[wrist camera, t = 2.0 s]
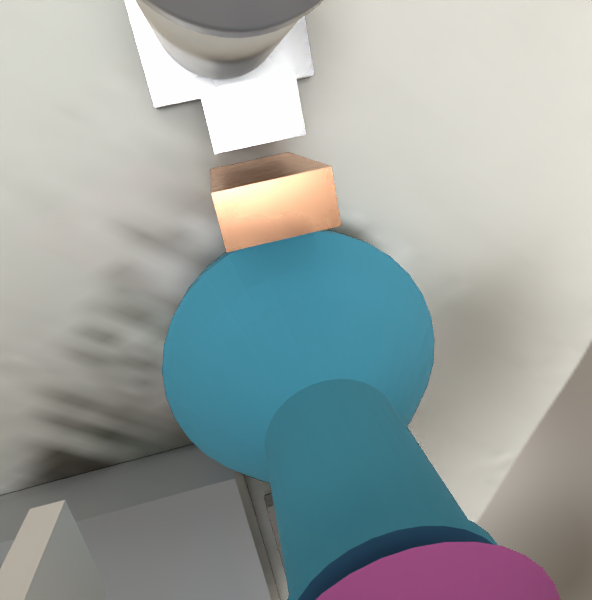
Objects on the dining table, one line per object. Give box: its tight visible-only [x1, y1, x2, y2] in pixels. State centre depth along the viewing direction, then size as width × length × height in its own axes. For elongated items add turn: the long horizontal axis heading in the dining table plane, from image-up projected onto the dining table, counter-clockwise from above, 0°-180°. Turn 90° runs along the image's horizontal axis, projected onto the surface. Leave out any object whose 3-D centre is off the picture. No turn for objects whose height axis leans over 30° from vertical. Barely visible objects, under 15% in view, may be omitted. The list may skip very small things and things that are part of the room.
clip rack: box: [124, 0, 341, 575], centre depth 17 cm, size 6×31×7 cm, turn 12°
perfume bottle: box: [162, 230, 560, 600], centre depth 14 cm, size 9×9×15 cm
